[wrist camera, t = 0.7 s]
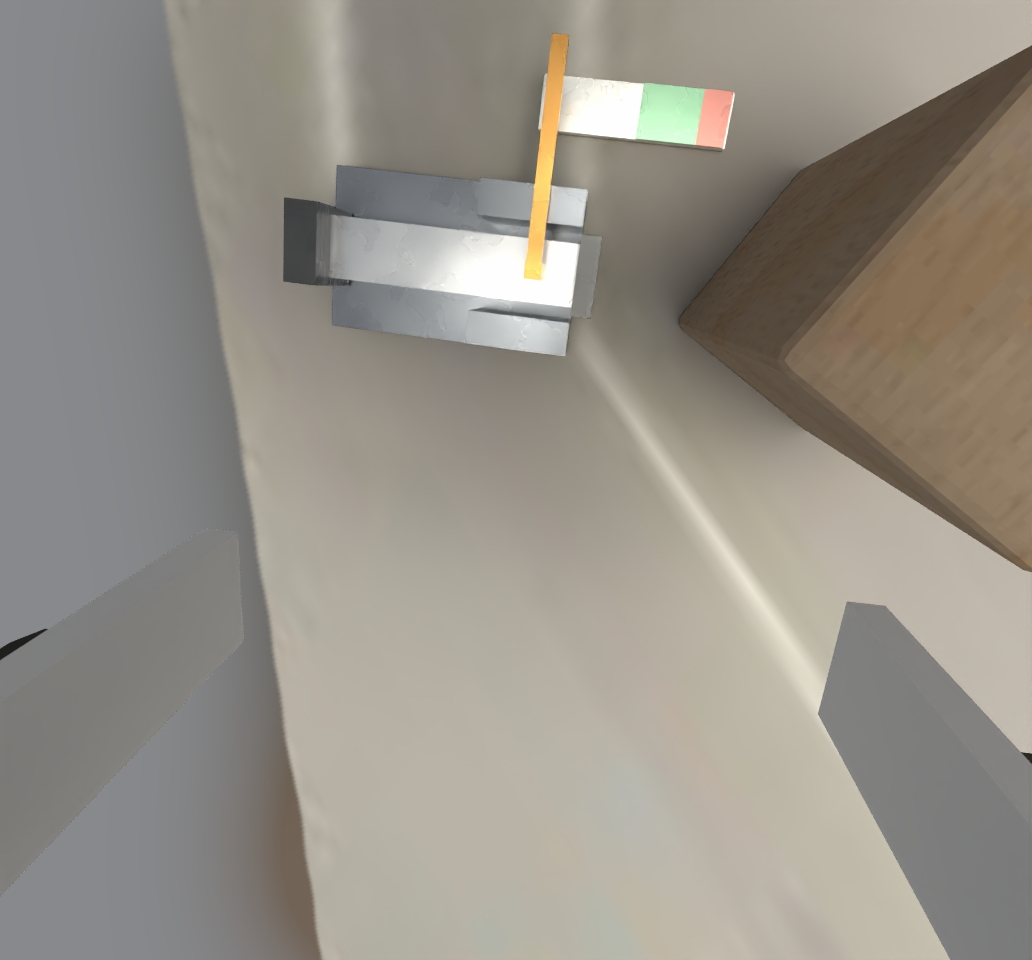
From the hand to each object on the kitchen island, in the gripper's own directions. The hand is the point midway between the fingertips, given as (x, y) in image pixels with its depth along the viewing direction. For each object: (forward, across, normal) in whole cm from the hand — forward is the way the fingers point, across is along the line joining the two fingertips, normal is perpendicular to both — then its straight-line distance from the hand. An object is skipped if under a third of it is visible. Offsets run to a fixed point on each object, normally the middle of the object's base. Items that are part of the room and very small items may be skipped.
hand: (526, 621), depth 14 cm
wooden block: (+25, +12, +7) cm, 29 cm away
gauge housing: (+25, -3, +10) cm, 27 cm away
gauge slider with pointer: (+24, -6, +11) cm, 27 cm away
